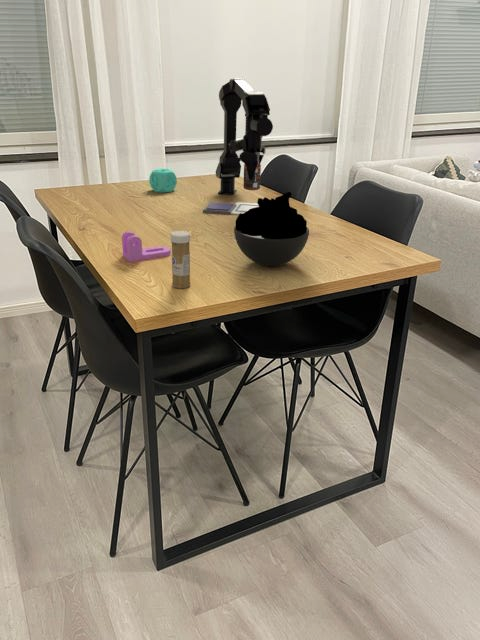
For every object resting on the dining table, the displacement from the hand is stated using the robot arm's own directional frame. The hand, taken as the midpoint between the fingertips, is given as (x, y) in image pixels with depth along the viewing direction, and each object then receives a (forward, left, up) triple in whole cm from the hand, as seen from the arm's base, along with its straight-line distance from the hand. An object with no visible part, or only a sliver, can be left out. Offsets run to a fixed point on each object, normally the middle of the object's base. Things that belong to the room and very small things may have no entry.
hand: (252, 177), depth 206 cm
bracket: (+57, -19, -12) cm, 62 cm away
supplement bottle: (0, 0, -4) cm, 4 cm away
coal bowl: (+56, +15, -12) cm, 59 cm away
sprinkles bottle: (+77, -4, -12) cm, 78 cm away
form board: (0, 0, -12) cm, 12 cm away
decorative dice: (-21, -40, -12) cm, 47 cm away
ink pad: (+3, -11, -12) cm, 16 cm away
